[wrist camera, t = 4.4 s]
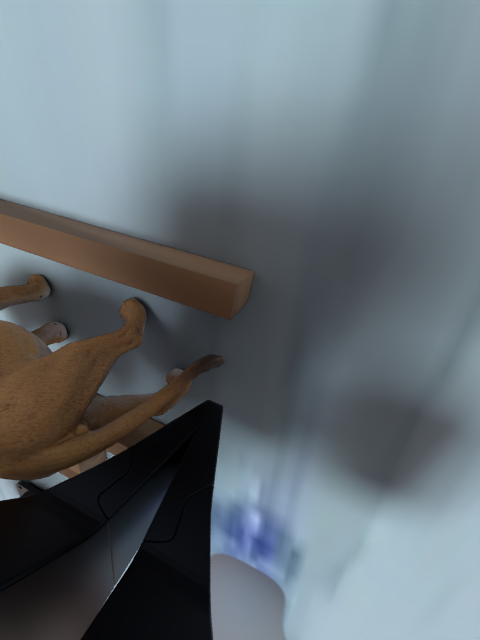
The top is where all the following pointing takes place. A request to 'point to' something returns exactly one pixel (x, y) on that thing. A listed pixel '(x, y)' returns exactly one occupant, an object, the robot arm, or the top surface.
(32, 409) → the lion figurine
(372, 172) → the top surface
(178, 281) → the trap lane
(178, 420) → the robot arm
